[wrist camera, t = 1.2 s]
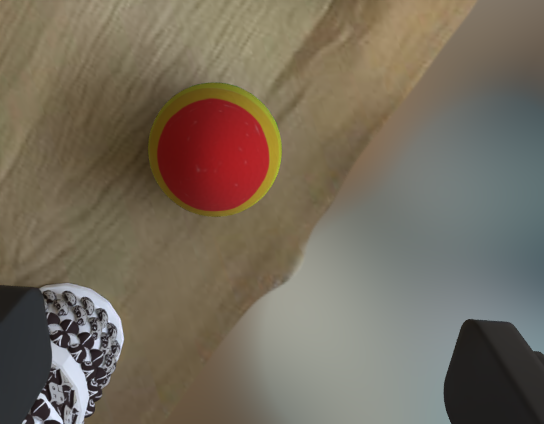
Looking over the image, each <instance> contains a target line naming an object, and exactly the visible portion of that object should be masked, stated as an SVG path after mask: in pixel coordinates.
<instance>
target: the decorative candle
mask: <svg viewBox="0 0 544 424" xmlns="http://www.w3.org/2000/svg"><path fill="white" fill-rule="evenodd" d="M39 289H40V290H41V292H42V294H43V298H44V303H45V310H46V316H47V322H48V329H49V335H50V341H51V348H52V364H51V370H50V373H49V377H48V379H47V382H46V384H45V386H44V388H43V389H42V391H41V393H40V394H39V396H38V398H37V399H36V401H35V403H34V404H33V406H32V408H31V409H30V411H29V413H28V414H27V416H26V418H25V419H24V421H23V423H22V424H83V423H84V418H87V417H89V416H91V415H92V414H93V413H94V411H95V404H94V402H96V401H98V400H99V399H100V398H101V396H102V390H101V388H103V387H105V386H106V385H107V384H108V383H109V381H110V378H111V374H112V373H113V372H114V371H115V368H116V362H117V360H118V359H119V356H120V352H121V349H122V345H123V341H124V336H123V330H122V324H121V319H120V317H119V316H118V314H117V313H116V311H115V310H114V308H113V307H112V305H111V304H110V302H109V301H108V300H106V299H105V298H103V297H102V296H100V295H99V294H98V293H96V292H95V291H93V290H92V289H90V288H87V287H83V286H79V285H75V284H71V283H61V284H52V285H45V286H43V287H41V288H39Z"/></svg>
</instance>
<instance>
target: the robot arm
mask: <svg viewBox="0 0 544 424" xmlns="http://www.w3.org/2000/svg"><path fill="white" fill-rule="evenodd" d="M51 364H52V348H51V341H50V335H49V329H48V322H47V316H46V310H45V303H44V298H43V294H42V292H41V290H40V289H38V288H34V287H19V286H5V285H0V424H22V423H23V421H24V419H25V418H26V416H27V414H28V413H29V411H30V409H31V408H32V406H33V404H34V403H35V401H36V399H37V398H38V396H39V394H40V393H41V391H42V389H43V388H44V386H45V384H46V382H47V379H48V377H49V373H50V370H51ZM444 402H445V407H446V411H447V414H448V417H449V419H450V422H451V424H544V355H543V354H542V353H541V352H537V351H533V350H532V349H531V348H530V346H529V345H528V344H527V342H526V341H525V340H524V338H523V337H522V336H521V334H520V333H519V331H518V330H517V329H516V328H515V326H514V325H513V324H511V323H509V322H502V321H487V320H473V319H468V320H466V321H465V322H464V323H463V325H462V327H461V329H460V333H459V336H458V339H457V342H456V345H455V349H454V352H453V355H452V358H451V361H450V365H449V368H448V371H447V374H446V378H445V382H444Z"/></svg>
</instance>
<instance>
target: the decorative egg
mask: <svg viewBox="0 0 544 424" xmlns="http://www.w3.org/2000/svg"><path fill="white" fill-rule="evenodd" d="M281 155H282V145H281V138H280V134H279V130H278V127H277V124H276V122H275V120H274V118H273V117H272V115H271V113H270V112H269V110H268V109H267V108H266V107H265V105H264V104H263V103H262V102H261V101H260V100H258V99H257V98H256V97H255V96H254V95H252V94H251V93H249V92H247V91H245V90H243V89H241V88H239V87H236V86H233V85H230V84H224V83H204V84H198V85H194V86H192V87H189V88H187V89H185V90H183V91H181V92H179V93H178V94H176V95H175V96H174V97H172V98H171V99H170V100H169V101H168V102H167V103H166V104H165V105H164V106H163V107H162V109H161V110H160V112H159V113H158V115H157V117H156V118H155V120H154V123H153V125H152V128H151V131H150V135H149V142H148V156H149V162H150V166H151V170H152V173H153V175H154V177H155V180H156V181H157V183H158V185H159V186H160V188H161V189H162V190H163V192H164V193H165V194H166V195H167V196H168V197H169V198H170V199H171V200H172V201H173V202H175V203H176V204H177V205H179V206H180V207H182V208H184V209H186V210H188V211H190V212H193V213H195V214H199V215H203V216H212V217H220V216H228V215H233V214H236V213H239V212H241V211H244V210H246V209H247V208H249V207H251V206H252V205H254V204H255V203H257V202H258V201H259V200H260V199H261V198H262V197H263V196H264V195H265V194H266V193H267V192H268V190H269V189H270V188H271V186H272V184H273V182H274V181H275V179H276V176H277V174H278V171H279V167H280V163H281Z"/></svg>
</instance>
